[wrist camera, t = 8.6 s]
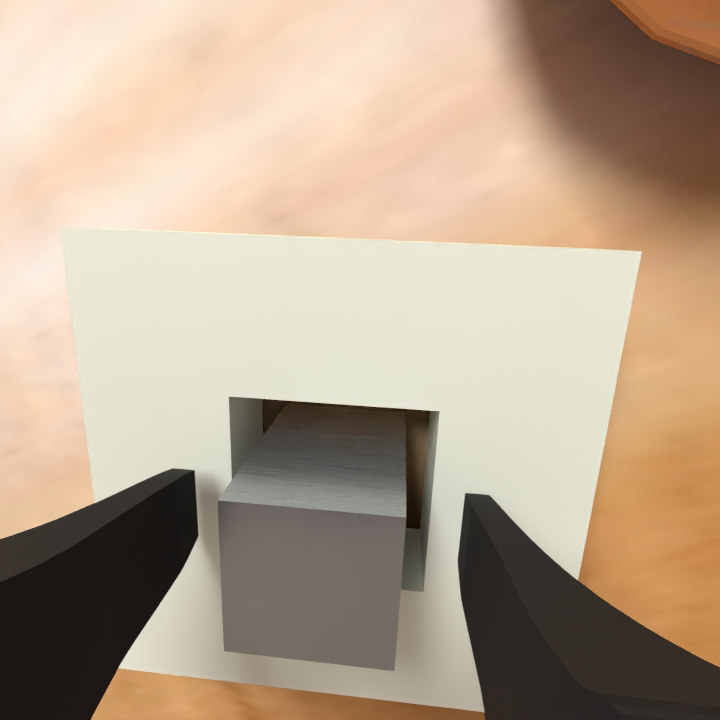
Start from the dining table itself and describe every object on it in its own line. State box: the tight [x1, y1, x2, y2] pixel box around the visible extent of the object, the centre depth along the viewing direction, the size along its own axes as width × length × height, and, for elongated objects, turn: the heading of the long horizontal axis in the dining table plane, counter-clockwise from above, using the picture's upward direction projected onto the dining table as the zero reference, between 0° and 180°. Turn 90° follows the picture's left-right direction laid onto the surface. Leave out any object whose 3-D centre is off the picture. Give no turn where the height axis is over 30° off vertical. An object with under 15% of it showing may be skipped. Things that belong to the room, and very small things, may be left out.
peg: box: [217, 403, 406, 671], centre depth 13 cm, size 4×4×6 cm
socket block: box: [60, 227, 642, 712], centre depth 14 cm, size 14×14×3 cm
